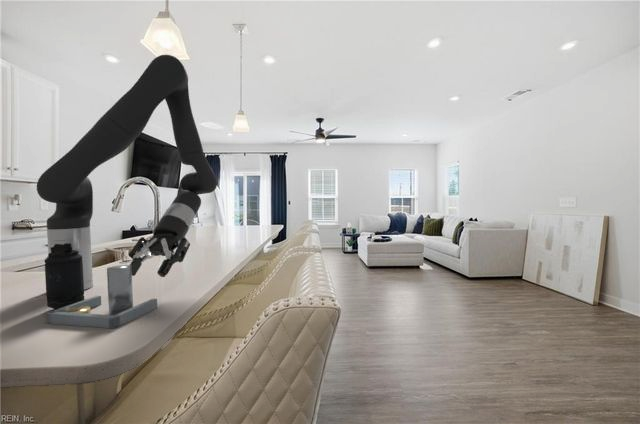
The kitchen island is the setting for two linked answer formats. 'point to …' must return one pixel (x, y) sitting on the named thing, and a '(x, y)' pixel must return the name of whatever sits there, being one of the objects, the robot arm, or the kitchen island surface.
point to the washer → (80, 310)
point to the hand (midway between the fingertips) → (145, 274)
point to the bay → (97, 319)
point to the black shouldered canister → (64, 276)
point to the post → (119, 288)
